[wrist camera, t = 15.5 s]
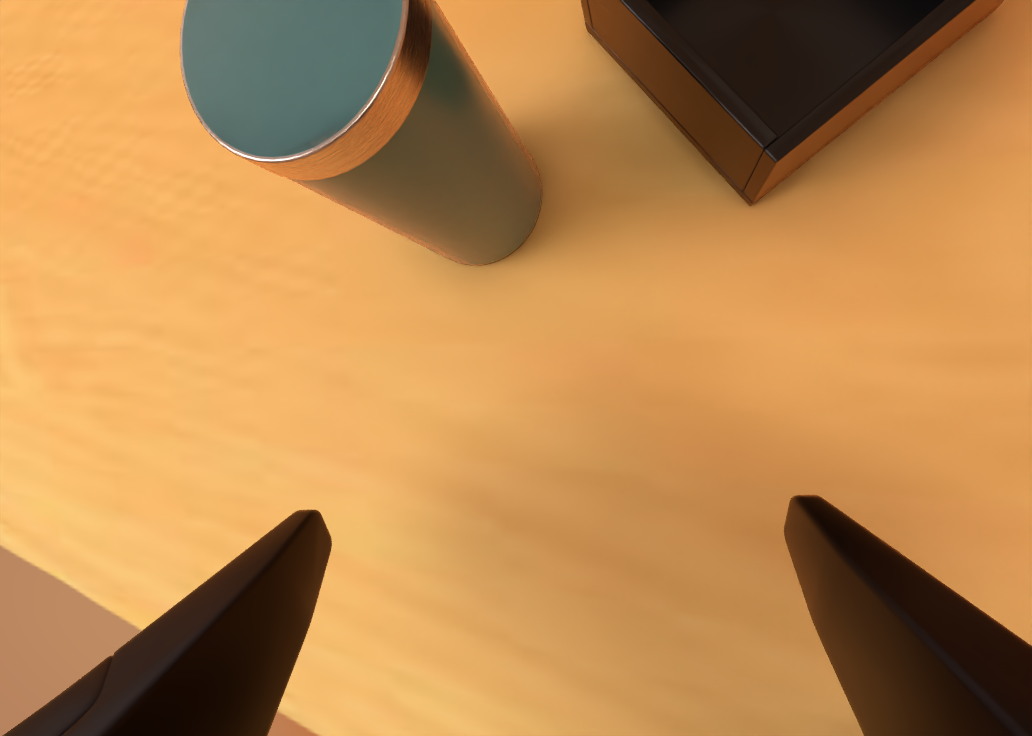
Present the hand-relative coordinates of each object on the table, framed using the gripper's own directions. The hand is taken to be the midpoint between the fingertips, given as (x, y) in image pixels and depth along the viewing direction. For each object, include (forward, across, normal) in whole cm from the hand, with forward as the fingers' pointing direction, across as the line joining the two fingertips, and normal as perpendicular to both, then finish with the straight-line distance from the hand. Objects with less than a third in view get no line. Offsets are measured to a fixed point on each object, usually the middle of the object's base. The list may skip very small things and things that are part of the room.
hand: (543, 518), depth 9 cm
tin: (+17, +3, -3) cm, 18 cm away
